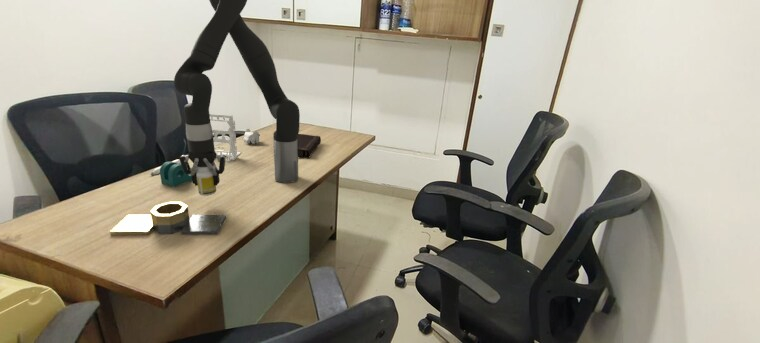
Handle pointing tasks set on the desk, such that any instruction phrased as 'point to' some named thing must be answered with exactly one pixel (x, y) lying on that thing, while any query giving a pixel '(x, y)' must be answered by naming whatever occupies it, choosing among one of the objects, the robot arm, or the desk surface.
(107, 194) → the desk surface
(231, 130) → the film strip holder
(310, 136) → the diary
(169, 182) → the bracket
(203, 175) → the supplement bottle
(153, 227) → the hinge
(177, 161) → the marker
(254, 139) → the elephant figurine
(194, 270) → the desk surface
